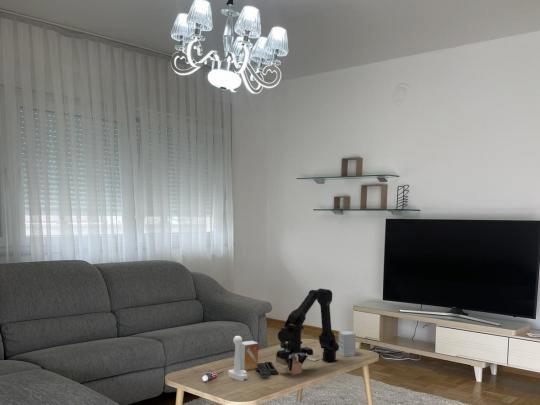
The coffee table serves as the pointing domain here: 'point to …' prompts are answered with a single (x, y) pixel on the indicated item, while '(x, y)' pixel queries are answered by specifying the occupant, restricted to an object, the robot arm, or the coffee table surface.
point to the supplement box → (346, 343)
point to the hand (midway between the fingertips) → (294, 370)
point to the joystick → (237, 362)
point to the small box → (248, 355)
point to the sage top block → (283, 349)
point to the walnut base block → (283, 361)
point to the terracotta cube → (296, 367)
